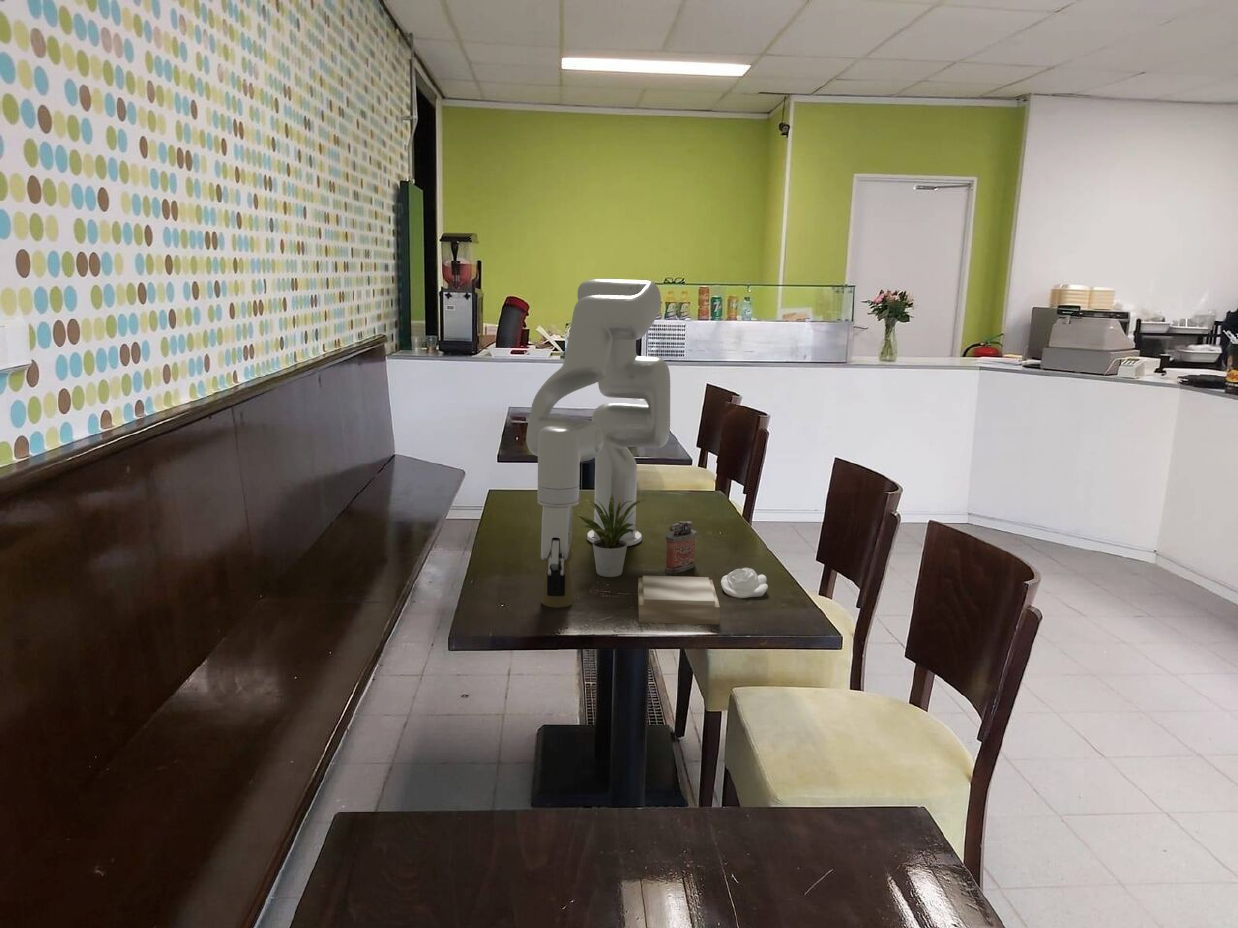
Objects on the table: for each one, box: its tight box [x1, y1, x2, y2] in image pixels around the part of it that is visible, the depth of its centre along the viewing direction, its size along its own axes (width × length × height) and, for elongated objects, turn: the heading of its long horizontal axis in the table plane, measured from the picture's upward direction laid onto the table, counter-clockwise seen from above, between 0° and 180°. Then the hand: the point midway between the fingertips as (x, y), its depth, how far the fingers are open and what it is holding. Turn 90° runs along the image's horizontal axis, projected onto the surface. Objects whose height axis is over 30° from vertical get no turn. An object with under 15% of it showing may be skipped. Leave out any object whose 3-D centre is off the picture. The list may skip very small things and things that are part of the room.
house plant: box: [573, 495, 648, 578], centre depth 175 cm, size 14×14×16 cm
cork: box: [540, 547, 575, 609], centre depth 158 cm, size 6×6×11 cm
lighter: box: [664, 520, 697, 574], centre depth 179 cm, size 8×3×10 cm, turn 135°
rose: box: [720, 567, 769, 599], centre depth 168 cm, size 10×4×10 cm
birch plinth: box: [637, 575, 721, 625], centre depth 157 cm, size 14×14×4 cm
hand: (557, 588), depth 159 cm, fingers open, 5 cm apart
